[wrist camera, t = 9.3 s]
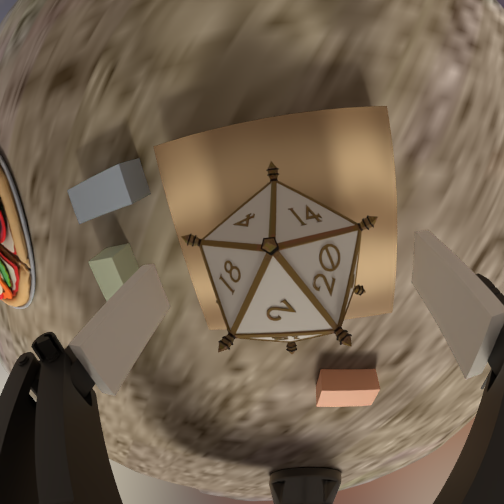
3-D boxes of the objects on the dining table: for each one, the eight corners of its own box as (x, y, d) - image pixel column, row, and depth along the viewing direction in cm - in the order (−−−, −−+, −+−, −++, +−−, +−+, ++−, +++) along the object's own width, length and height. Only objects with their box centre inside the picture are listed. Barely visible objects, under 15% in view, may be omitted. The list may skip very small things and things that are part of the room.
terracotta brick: (375, 367, 25) (380, 389, 22) (367, 384, 26) (371, 405, 23) (320, 367, 25) (321, 390, 23) (316, 384, 27) (316, 406, 24)
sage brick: (153, 299, 24) (139, 318, 22) (130, 301, 25) (115, 318, 22) (130, 242, 22) (111, 257, 19) (106, 247, 23) (88, 261, 20)
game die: (273, 194, 19) (236, 97, 10) (379, 254, 17) (444, 193, 7) (204, 301, 19) (106, 287, 9) (308, 371, 16) (302, 439, 7)
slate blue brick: (140, 157, 19) (118, 163, 16) (151, 193, 20) (131, 204, 17) (89, 181, 20) (67, 190, 18) (100, 212, 21) (79, 224, 19)
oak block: (382, 290, 20) (392, 312, 18) (218, 307, 23) (209, 329, 21) (372, 109, 15) (386, 106, 12) (172, 143, 18) (153, 146, 15)
